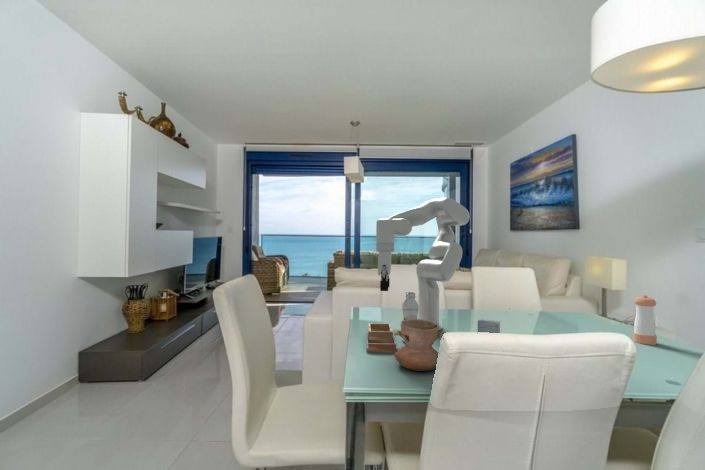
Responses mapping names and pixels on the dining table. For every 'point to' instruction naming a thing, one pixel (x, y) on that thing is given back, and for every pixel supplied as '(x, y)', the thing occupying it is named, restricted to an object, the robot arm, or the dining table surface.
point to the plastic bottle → (410, 307)
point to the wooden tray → (381, 346)
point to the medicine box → (488, 326)
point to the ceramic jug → (418, 344)
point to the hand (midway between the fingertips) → (385, 289)
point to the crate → (380, 333)
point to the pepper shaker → (644, 321)
